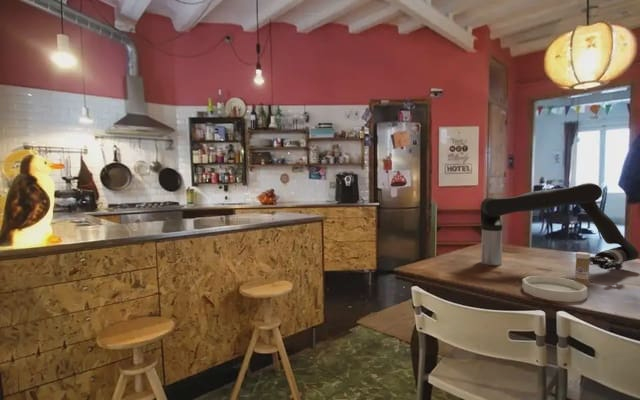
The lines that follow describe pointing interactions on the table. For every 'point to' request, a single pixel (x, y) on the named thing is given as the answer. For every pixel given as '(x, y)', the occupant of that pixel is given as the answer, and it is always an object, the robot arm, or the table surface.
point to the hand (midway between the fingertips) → (592, 264)
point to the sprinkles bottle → (582, 268)
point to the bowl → (554, 288)
